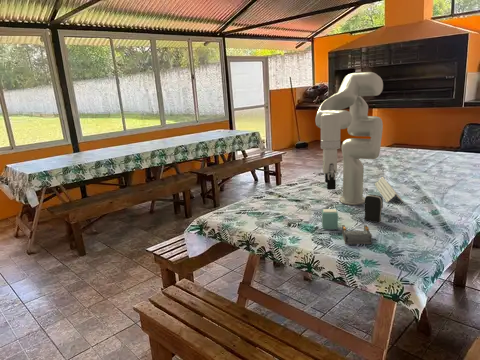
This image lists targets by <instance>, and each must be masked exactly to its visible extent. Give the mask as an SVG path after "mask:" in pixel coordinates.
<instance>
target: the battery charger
mask: <svg viewBox="0 0 480 360" xmlns="http://www.w3.org/2000/svg"><path fill="white" fill-rule="evenodd" d="M364 198H365V203H364V217H363V218H364V220H365V221H368V222H372V223H381V221H382V209H383V206H384V198H383V196H382V195H377V194H371V193H370V194H367V195H366V196H365V197H364Z"/></svg>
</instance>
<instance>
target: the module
mask: <svg viewBox="0 0 480 360" xmlns="http://www.w3.org/2000/svg"><path fill="white" fill-rule="evenodd" d="M338 219H339V213H338V209H335V208H333V209H332V208H330V209H329V208H328V209H327V208H326V209H325V208H323V209H321V227H322V229H323V230H338V226H339V225H338V224H339V223H338V222H339V220H338Z"/></svg>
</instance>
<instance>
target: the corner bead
mask: <svg viewBox="0 0 480 360" xmlns="http://www.w3.org/2000/svg"><path fill="white" fill-rule="evenodd" d="M374 186H375V187H376V189H377V190H378V192H379V193H380V194H381V197H382V198H383V200H385V202H386V203H388V202H390V201H391V200H392V199H393V198H394V197H397V198H398V199H399V200H400V201H401V202H402V203H405V202H404V200H402V197H400V196H399V194H398V193H397V192H396V190H395V189H394V188H393V186H391V184H390V183H389V182H388V181H387V180H386V178H385V177H383V176H381V178H380V179H379V180H378V181H376V182H375V183H374Z"/></svg>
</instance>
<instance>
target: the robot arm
mask: <svg viewBox="0 0 480 360" xmlns="http://www.w3.org/2000/svg"><path fill="white" fill-rule="evenodd" d="M383 90H384V82H383V79H382V78H381V76H380V75H378V74H377V73H375V72H372V71H366V72H364V71H362V72H352V73H348V74H347V75H345V76H344V78H343V80H342V82H341V84H340V86H339V88H338V91H337V93H334V94H333V95H331V96H329V97H328V98H326V99H324V101H323V102H322V103H321V104H320V105H319V108H318V110H317V112H316V115H315V126H316V127H317V128H319V129H320V149H321V150H322V172H323V174H324V179H325V180H324V182H325V183H326V189H327V190H332V191H333V190H336V186H337V185H336V182H337V180H336V174H337V173H338V172H337V171H338V149H341V155H342V167H343V169H342V195H341V196H340V197H339V202H340V203H342V204H344V205H348V206H358V205H363V204H365V197H364V196H363V195H364V194H363V193H364V165H363V163H362V161H361V159H363V160H376V159H378V158H379V157H380V154H381V147H382V138H383V129H384V127H383V126H384V123H383V120H382V118H381V117H379V116H376V115H375V116H372V115H368V114H369V105H368V103H367V102H366V101H365V99H364V98H363V97H375V96H376V97H377V96H379V95H381V93H382V92H383ZM347 108H349V111H348V110H345V109H347ZM346 129H347V133H348V135H350V136H352V137H353V136H354V137H359V138H354V137H353V138H352V137H351V138H346V139H345V140H343V141H342V143H341V130H346ZM360 137H368V138H360ZM369 137H370V138H369Z"/></svg>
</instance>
